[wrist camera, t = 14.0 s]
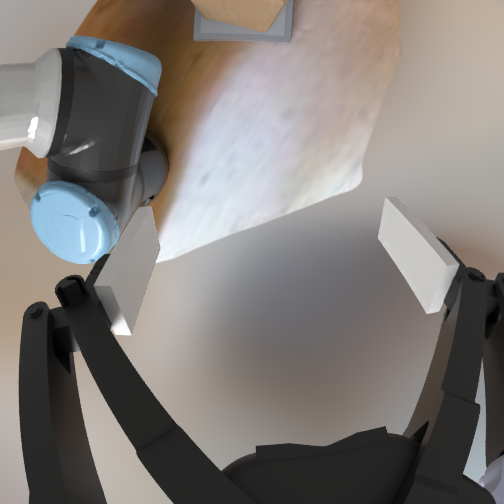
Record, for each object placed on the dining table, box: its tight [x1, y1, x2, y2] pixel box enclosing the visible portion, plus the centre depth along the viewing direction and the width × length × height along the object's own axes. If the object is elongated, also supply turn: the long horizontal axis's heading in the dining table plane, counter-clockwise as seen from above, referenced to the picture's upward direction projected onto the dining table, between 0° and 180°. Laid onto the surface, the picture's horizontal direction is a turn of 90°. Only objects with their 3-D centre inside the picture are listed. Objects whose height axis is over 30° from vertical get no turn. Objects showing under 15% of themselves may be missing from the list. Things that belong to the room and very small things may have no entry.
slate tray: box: [193, 0, 293, 45], centre depth 32 cm, size 14×14×3 cm
